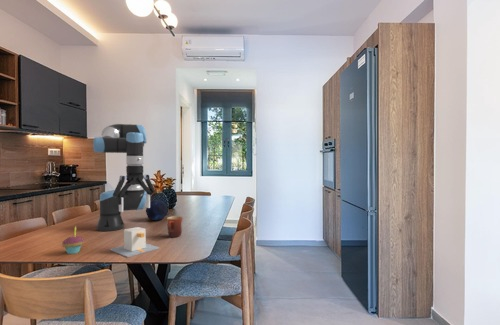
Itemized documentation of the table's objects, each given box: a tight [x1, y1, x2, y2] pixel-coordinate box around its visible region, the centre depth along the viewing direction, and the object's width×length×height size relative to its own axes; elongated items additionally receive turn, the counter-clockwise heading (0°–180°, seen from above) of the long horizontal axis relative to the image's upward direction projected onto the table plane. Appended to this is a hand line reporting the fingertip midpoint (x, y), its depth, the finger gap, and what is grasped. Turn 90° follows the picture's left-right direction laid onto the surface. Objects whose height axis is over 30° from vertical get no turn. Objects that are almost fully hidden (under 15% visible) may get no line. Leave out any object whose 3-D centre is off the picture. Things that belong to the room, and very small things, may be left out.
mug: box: [166, 215, 184, 238], centre depth 157 cm, size 12×9×10 cm
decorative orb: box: [145, 199, 168, 222], centre depth 200 cm, size 14×15×15 cm
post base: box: [109, 242, 160, 258], centre depth 135 cm, size 16×16×6 cm
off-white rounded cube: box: [123, 226, 147, 251], centre depth 134 cm, size 10×7×9 cm, turn 51°
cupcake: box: [61, 225, 85, 255], centre depth 131 cm, size 9×8×12 cm
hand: (135, 209), depth 136 cm, fingers open, 13 cm apart
